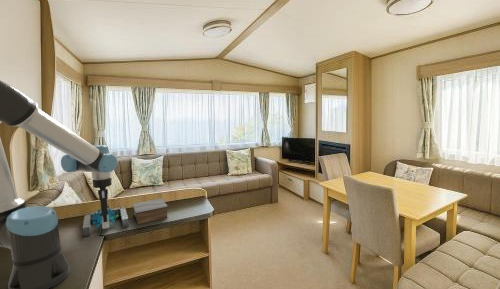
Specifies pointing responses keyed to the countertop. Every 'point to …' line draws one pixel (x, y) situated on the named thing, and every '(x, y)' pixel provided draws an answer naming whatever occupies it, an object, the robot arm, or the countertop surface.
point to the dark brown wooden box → (150, 210)
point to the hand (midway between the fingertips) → (105, 224)
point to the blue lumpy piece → (99, 218)
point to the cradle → (88, 217)
